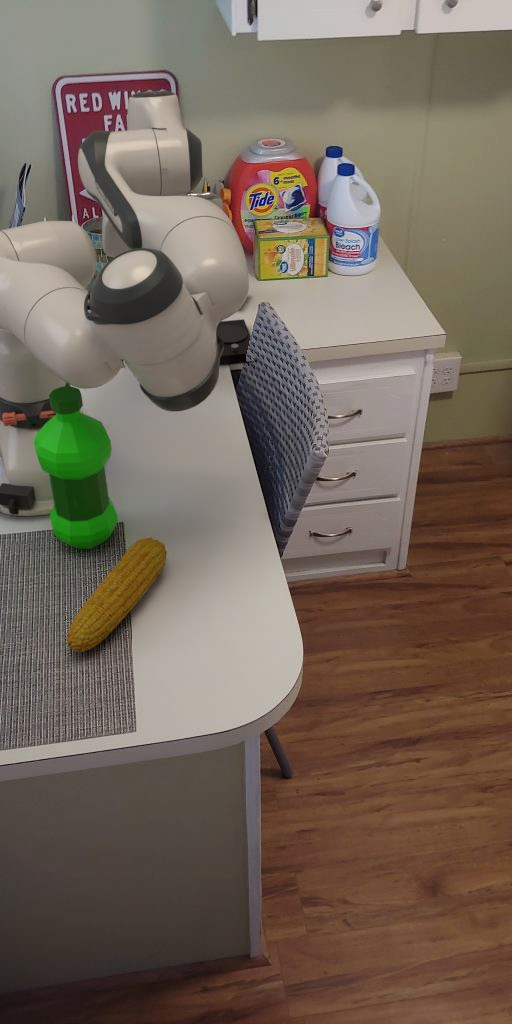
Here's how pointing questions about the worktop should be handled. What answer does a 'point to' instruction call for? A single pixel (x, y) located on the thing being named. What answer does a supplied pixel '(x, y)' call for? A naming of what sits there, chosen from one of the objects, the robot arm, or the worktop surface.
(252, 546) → the worktop surface
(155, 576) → the food
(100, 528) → the plastic bottle
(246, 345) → the hot plate
